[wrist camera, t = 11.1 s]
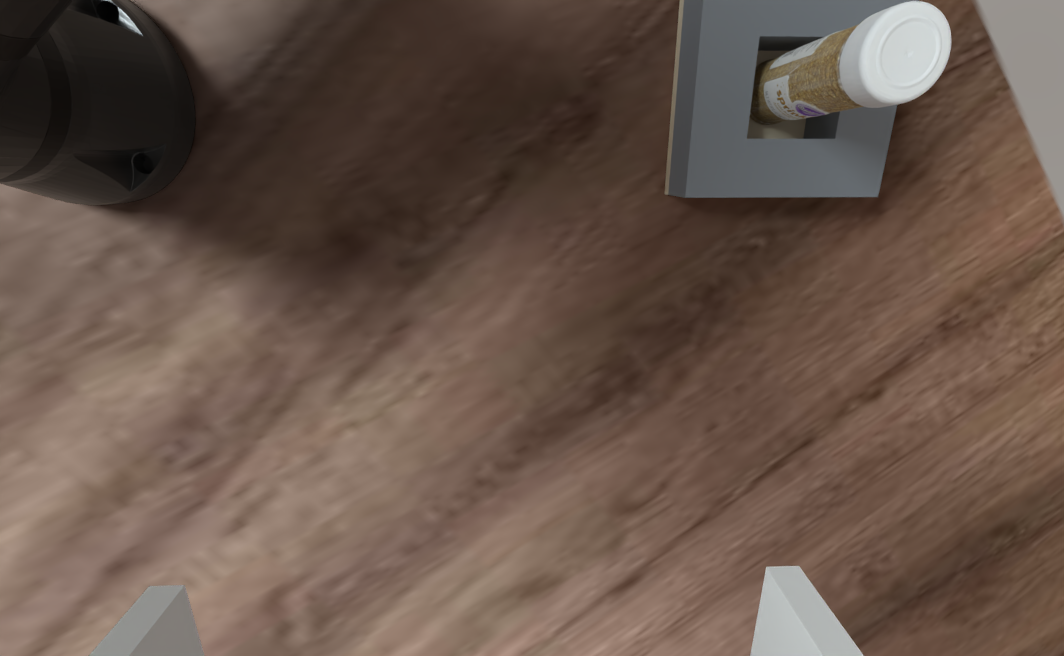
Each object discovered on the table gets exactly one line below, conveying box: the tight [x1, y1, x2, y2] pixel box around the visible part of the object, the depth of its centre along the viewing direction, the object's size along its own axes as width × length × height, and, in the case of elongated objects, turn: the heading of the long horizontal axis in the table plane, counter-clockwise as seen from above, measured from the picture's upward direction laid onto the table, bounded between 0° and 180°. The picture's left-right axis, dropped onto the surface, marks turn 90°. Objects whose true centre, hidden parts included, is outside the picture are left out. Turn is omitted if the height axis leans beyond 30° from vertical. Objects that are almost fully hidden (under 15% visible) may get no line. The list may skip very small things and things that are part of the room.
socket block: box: [665, 0, 919, 198], centre depth 35 cm, size 14×14×5 cm
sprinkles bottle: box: [750, 1, 951, 125], centre depth 30 cm, size 5×5×13 cm
